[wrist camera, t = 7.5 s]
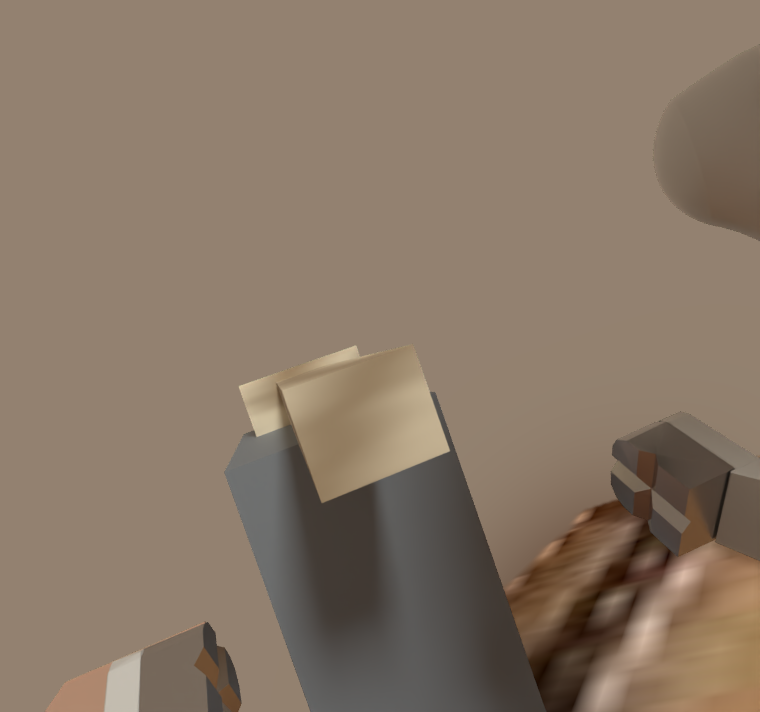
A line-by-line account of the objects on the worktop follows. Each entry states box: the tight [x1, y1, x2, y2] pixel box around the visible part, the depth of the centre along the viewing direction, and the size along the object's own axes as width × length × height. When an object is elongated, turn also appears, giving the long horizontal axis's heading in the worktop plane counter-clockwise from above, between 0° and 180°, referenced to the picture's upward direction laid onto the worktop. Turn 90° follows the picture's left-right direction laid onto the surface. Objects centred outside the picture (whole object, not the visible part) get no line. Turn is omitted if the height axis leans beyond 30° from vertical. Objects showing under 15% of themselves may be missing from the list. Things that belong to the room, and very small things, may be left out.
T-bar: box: [239, 344, 450, 503], centre depth 22 cm, size 7×23×3 cm, turn 13°
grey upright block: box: [225, 392, 546, 712], centre depth 28 cm, size 9×14×26 cm, turn 13°
